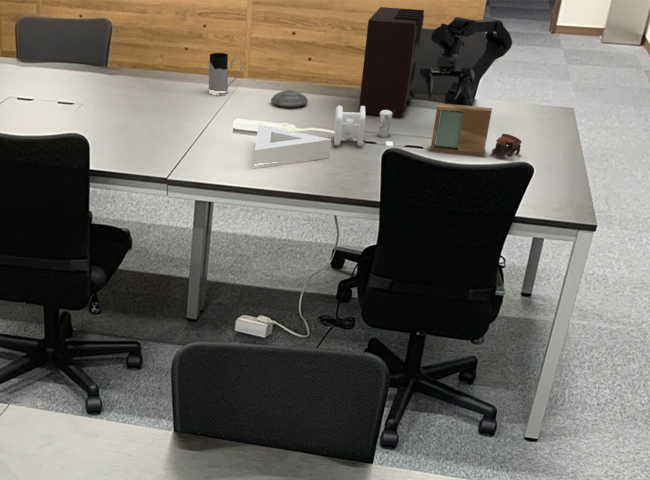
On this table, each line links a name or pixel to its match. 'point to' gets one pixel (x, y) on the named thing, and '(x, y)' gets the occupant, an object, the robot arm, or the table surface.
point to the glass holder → (219, 72)
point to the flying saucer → (289, 98)
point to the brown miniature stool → (503, 149)
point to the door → (449, 128)
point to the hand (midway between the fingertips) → (442, 98)
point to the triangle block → (288, 147)
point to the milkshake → (385, 122)
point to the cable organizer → (349, 125)
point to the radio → (391, 60)
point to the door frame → (466, 130)
